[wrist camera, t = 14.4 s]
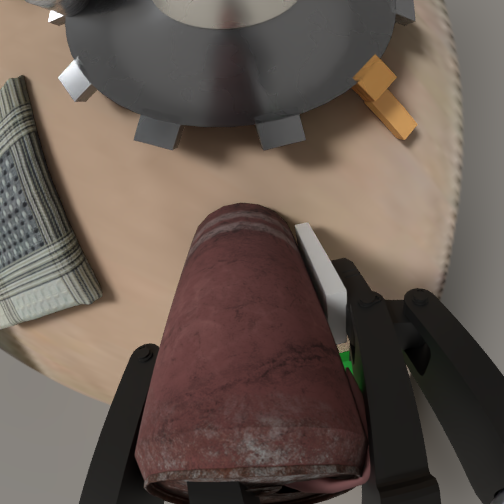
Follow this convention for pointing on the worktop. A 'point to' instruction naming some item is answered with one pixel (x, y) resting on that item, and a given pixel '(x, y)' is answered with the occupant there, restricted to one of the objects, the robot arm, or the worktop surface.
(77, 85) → the sprocket
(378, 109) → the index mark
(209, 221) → the can
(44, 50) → the worktop surface
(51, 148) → the worktop surface
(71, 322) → the worktop surface
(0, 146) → the dish towel
